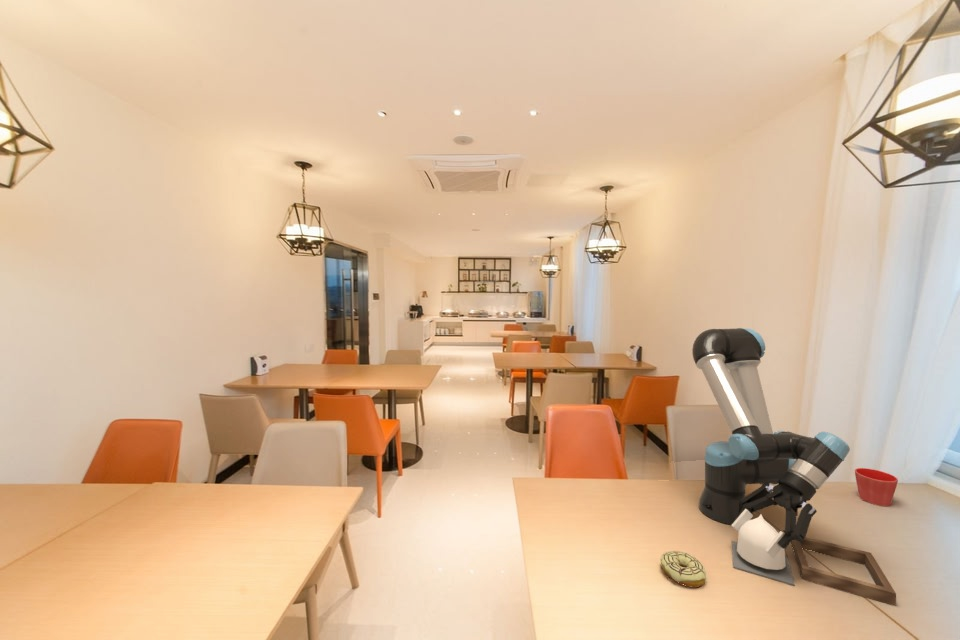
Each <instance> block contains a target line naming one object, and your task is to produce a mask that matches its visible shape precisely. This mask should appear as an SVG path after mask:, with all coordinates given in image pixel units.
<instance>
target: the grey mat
mask: <svg viewBox="0 0 960 640" xmlns="http://www.w3.org/2000/svg"><path fill="white" fill-rule="evenodd" d="M737 544H738V541H735V540H734V541H733V540H731V552H732V555H733V556H732V567H733V569H736V570H739V571H742V572H746V573H750V574H753V575H756V576H759V577H762V578H766V579H770V580H771V581H772V580H773V581H777V582H778V583H779V582H780V583H784V584H785V585H790V586H793V587H796V584H795V583H796V582H795V579H794V576H793V572H792V568H791V565H790V562H789V559H788V556H787V554H785V563H786V567H784V568H783V569H779V570H773V569H765V568H762V567H759V566H756V565H753V564H752V563H750V562H748V561H746V560H745V559H743V558H742V557H741V556H740V554H739V553H738V552H737Z"/></svg>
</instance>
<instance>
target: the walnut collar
mask: <svg viewBox="0 0 960 640" xmlns="http://www.w3.org/2000/svg"><path fill="white" fill-rule="evenodd" d="M791 544H792V545H791ZM790 545H791V547H793V548H792V551H793V550H794V551H793V554H795V555H794V557H796V558H795V561H796V564H797V567H798V570H800V571H799V573H800V576H801V580H803V581H806V582H809V583H810V582H811V583H814V584H818V585H822V586H824V587H828V588H832V589H835V590H837V591H838V590H839V591H841V592H845V593H849V594H852V595H853V594H854V595H856V596H859V597H863V598H867V599H871V600H874V601H877V602H881V603H885V604H887V605H891V606H895V607H896V606H897V593H896V591H895V590H894V587H893V586H892V584H891V583H890V581H889V580H888V578H887V577H886V574H885V573H884V572H883V569H882V568H881V567H880V565H879V563H878V562H877V560H876V558H875V557H874V556H873V554H872V552H869V551H865V550H860V549H857V548H853V547H848V546H844V545H841V544H835V543H833V542H832V543H831V542H827V541H823V540H821V539H820V540H819V539H815V538H811V537H808V536H807V537H806V536H805V539H804V542H802V543H801V542H799V541H797V540H792V541H791V542H790ZM802 548H803V549H802ZM805 549H807V550H806V551H808V550H812V551H815V552H814V553H816V552H818V553H817V554H820V553H822V554H821V555H824V554H825V555H826V556H828V555H829V556H830V557H832V558H836V559H840V560H844V559H845V561H849V562H853V563H858V564H861V565H864V566H865V567H866V569H867V570H868V573H869V574H870V576H871V578H872V580H873V581H874V583H871V582H867V581H863V580H861V579H860V580H859V579H856V578H852V577H850V576H845V575H840V574H837V573H833V572H830V571H828V570H827V571H826V570H822V569H819V568H815V567H812V566H809V564H808V561H807V557H806V555H805V552H804V550H805ZM812 551H811V552H812ZM825 555H824V556H825Z"/></svg>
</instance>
